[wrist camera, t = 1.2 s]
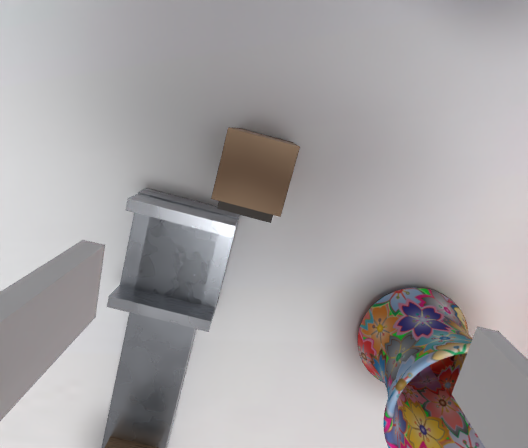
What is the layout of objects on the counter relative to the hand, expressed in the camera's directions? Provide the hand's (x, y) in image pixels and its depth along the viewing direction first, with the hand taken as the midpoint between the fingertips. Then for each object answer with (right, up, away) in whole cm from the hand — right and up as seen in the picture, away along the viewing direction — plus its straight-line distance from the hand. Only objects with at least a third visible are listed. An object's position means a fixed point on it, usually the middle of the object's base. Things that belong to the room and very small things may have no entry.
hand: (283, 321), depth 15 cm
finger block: (-1, +8, +17) cm, 18 cm away
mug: (+12, -6, +20) cm, 24 cm away
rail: (-9, -7, +20) cm, 23 cm away
